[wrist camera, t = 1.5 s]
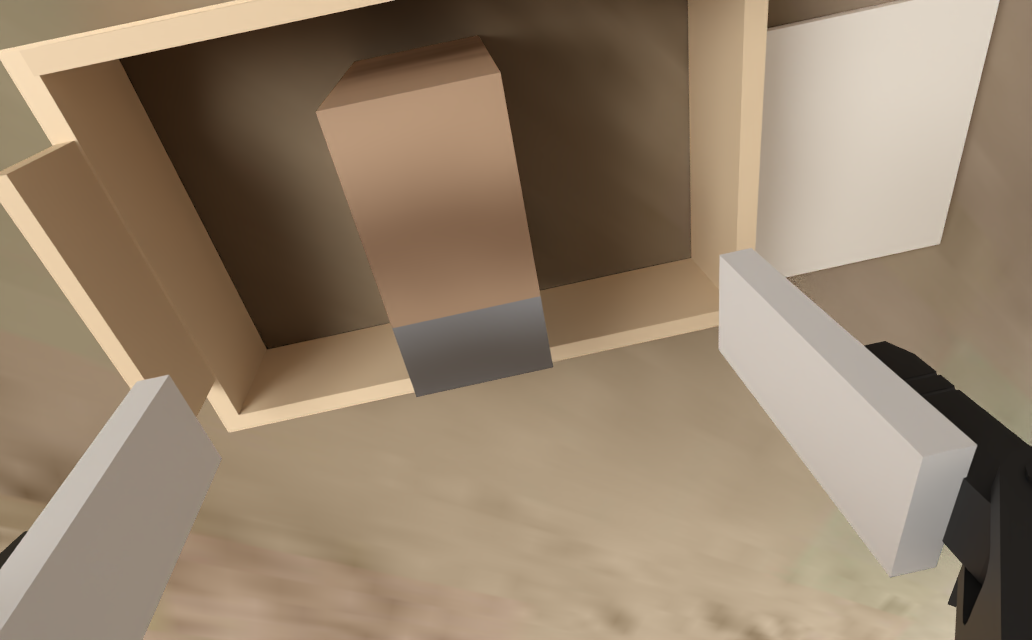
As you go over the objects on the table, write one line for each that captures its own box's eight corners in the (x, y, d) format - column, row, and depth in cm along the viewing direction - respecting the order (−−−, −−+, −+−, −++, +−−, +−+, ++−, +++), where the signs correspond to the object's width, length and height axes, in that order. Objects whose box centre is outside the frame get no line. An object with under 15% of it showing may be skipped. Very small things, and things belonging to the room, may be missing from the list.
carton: (81, 33, 21) (-98, 70, 14) (707, -100, 21) (845, -129, 14) (257, 365, 30) (201, 494, 22) (706, 268, 30) (792, 365, 23)
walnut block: (354, 61, 23) (315, 111, 15) (478, 35, 23) (500, 71, 15) (420, 279, 28) (416, 397, 21) (521, 258, 28) (553, 367, 21)
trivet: (758, 30, 24) (765, 31, 24) (992, -20, 24) (1004, -19, 24) (747, 279, 30) (752, 284, 30) (931, 239, 31) (939, 244, 30)
